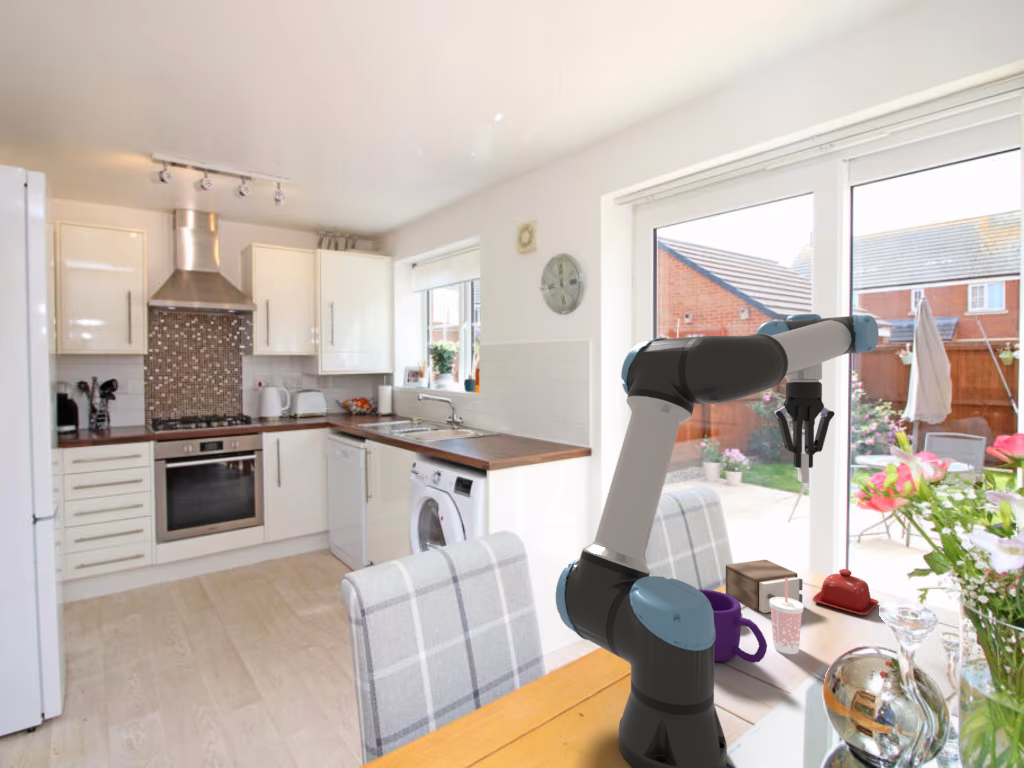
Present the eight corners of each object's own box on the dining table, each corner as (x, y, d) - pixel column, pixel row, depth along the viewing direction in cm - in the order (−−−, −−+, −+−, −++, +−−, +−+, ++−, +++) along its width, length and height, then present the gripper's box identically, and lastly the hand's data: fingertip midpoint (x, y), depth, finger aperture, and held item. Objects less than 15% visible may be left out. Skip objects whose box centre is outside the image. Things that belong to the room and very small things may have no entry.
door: (798, 603, 129) (799, 575, 129) (808, 607, 126) (808, 579, 126) (759, 610, 125) (759, 582, 125) (768, 615, 123) (768, 586, 122)
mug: (667, 647, 109) (667, 597, 109) (702, 631, 116) (702, 584, 116) (748, 687, 95) (748, 630, 95) (783, 667, 102) (783, 613, 102)
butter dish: (865, 621, 121) (866, 582, 121) (809, 605, 130) (810, 569, 130) (880, 606, 129) (881, 570, 129) (826, 592, 137) (827, 558, 137)
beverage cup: (810, 651, 108) (811, 580, 107) (789, 658, 105) (790, 585, 104) (782, 638, 113) (782, 570, 113) (762, 644, 110) (762, 575, 110)
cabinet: (797, 605, 129) (797, 573, 129) (754, 611, 125) (755, 579, 125) (765, 589, 138) (765, 559, 138) (725, 595, 135) (725, 564, 135)
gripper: (826, 380, 131) (826, 479, 132) (769, 380, 133) (768, 477, 134) (840, 381, 124) (840, 485, 125) (779, 381, 126) (778, 484, 127)
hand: (803, 481), depth 129 cm, fingers closed
